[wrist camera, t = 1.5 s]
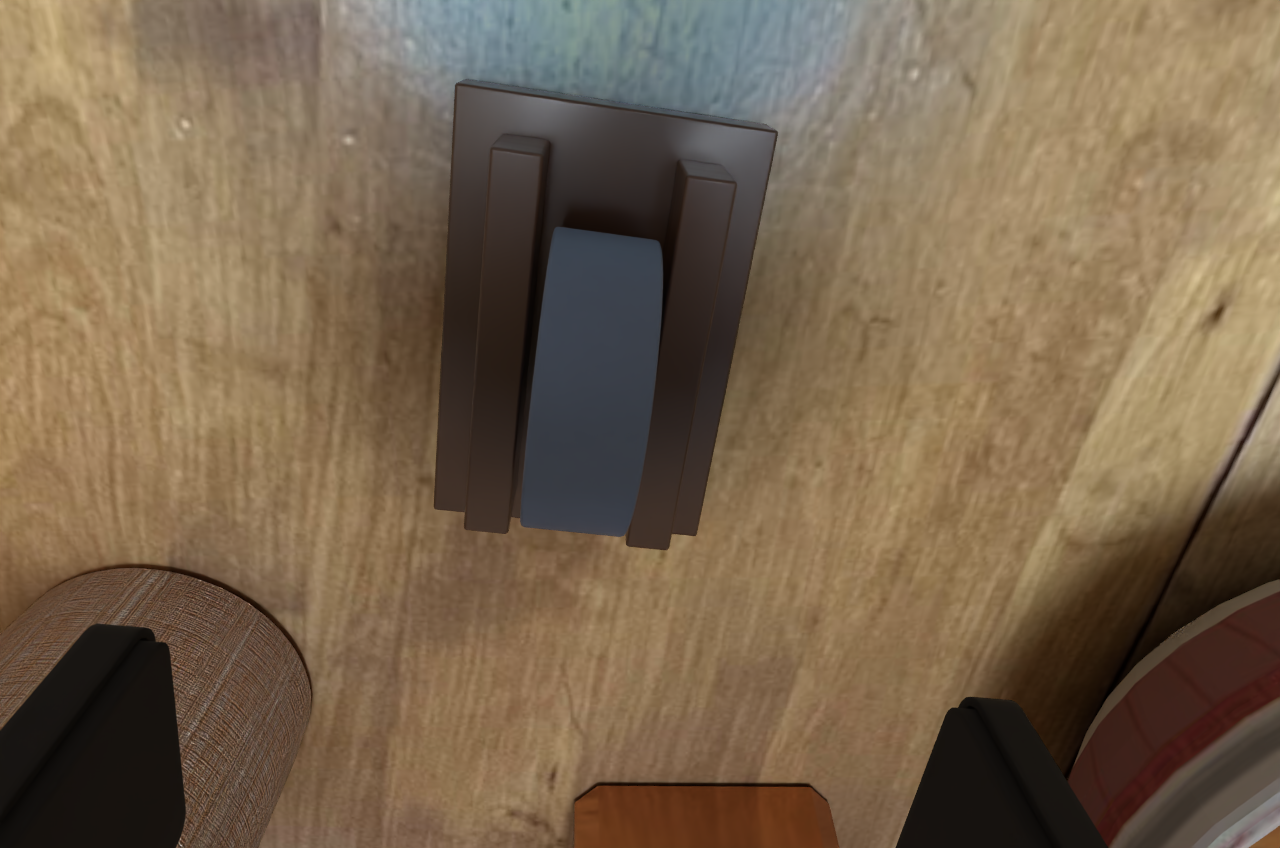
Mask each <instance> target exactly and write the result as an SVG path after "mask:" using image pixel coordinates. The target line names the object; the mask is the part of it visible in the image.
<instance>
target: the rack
mask: <svg viewBox="0 0 1280 848" xmlns="http://www.w3.org/2000/svg"><path fill="white" fill-rule="evenodd" d="M777 136H778V132H777V131H776V130H774V129H773V128H771V127H770V126H768V125H767V124H761V123H755V122H748V121H742V120H735V119H728V118H722V117H715V116H708V115H702V114H695V113H689V112H682V111H675V110H669V109H662V108H655V107H649V106H642V105H636V104H629V103H622V102H616V101H609V100H603V99H596V98H589V97H583V96H576V95H569V94H563V93H556V92H550V91H543V90H536V89H530V88H523V87H516V86H510V85H503V84H497V83H490V82H483V81H477V80H470V79H465V80H462V81H460V82H458V83H456V85H455V97H454V117H453V137H452V156H451V176H450V196H449V215H448V235H447V254H446V274H445V294H444V313H443V333H442V353H441V372H440V392H439V412H438V431H437V451H436V471H435V490H434V509H438V510H448V511H457V512H465V517H464V528H465V529H466V530H472V531H482V532H492V533H502V534H506V533H508V531H509V526H510V521H511V517H515V518H520V511H521V495H522V483H523V471H524V460H525V450H526V440H527V430H528V420H529V411H530V401H531V392H532V383H533V375H534V366H535V357H536V349H537V341H538V332H539V324H540V316H541V309H542V301H543V293H544V286H545V279H546V272H547V265H548V258H549V252H550V246H551V240H552V235H553V232H554V229H555V227H565V228H572V229H579V230H587V231H594V232H601V233H609V234H616V235H623V236H631V237H638V238H645V239H653V240H657V241H659V243H660V246H661V250H662V258H663V297H662V316H661V330H660V342H659V353H658V364H657V373H656V382H655V391H654V399H653V407H652V414H651V421H650V429H649V435H648V442H647V448H646V454H645V460H644V466H643V472H642V477H641V482H640V487H639V492H638V497H637V501H636V505H635V509H634V513H633V517H632V520H631V523H630V526H629V528H628V530H627V532H626V545H627V546H629V547H639V548H649V549H659V550H668V548H669V546H670V540H671V535H672V534H680V535H689V536H696V534H697V531H698V526H699V521H700V516H701V511H702V506H703V501H704V496H705V491H706V486H707V481H708V476H709V471H710V467H711V462H712V457H713V452H714V447H715V442H716V437H717V432H718V427H719V422H720V417H721V412H722V407H723V402H724V397H725V393H726V388H727V383H728V378H729V373H730V368H731V363H732V358H733V353H734V348H735V343H736V338H737V333H738V328H739V323H740V319H741V314H742V309H743V304H744V299H745V294H746V289H747V284H748V279H749V274H750V269H751V264H752V259H753V254H754V249H755V245H756V240H757V235H758V230H759V225H760V220H761V215H762V210H763V205H764V200H765V195H766V190H767V185H768V180H769V175H770V171H771V166H772V161H773V156H774V151H775V146H776V141H777Z"/></svg>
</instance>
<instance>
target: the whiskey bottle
mask: <svg viewBox="0 0 1280 848" xmlns="http://www.w3.org/2000/svg"><path fill="white" fill-rule="evenodd" d="M574 848H839V845H838V840H837V836H836V832H835V828H834V823H833V819H832V815H831V811H830V806H829V804H828V803H827V802H826V801H825V800H824V799H823V798H822V797H821V796H819V795H818V794H817V793H816V792H815V791H814V790H813V789H812V788H811V787H718V786H597V787H596V788H594V789H593V790H591V791H590V792H589V793H587V794H586V795H585V796H583V797H582V798H581V799H579V800H578V801H576V802H575V811H574Z"/></svg>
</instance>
